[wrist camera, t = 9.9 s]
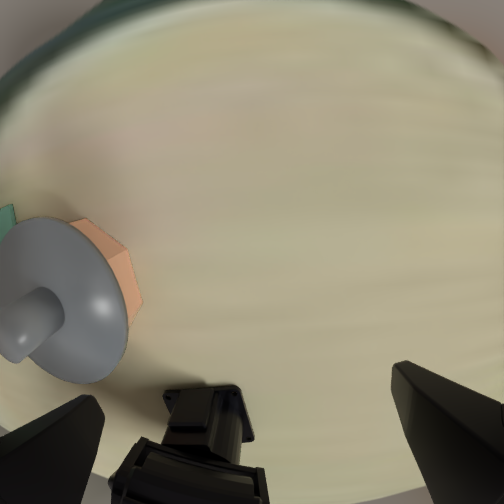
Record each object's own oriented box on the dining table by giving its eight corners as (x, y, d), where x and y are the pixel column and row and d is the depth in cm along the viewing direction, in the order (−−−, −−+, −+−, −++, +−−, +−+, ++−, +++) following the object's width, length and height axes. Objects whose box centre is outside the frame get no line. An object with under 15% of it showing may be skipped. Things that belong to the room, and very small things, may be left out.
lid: (154, 377, 18) (124, 433, 12) (36, 374, 19) (1, 410, 13) (96, 194, 15) (34, 204, 10) (-14, 237, 16) (-64, 254, 11)
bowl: (154, 336, 21) (135, 365, 17) (63, 342, 22) (38, 365, 18) (117, 209, 19) (87, 216, 15) (28, 237, 20) (-5, 248, 16)
